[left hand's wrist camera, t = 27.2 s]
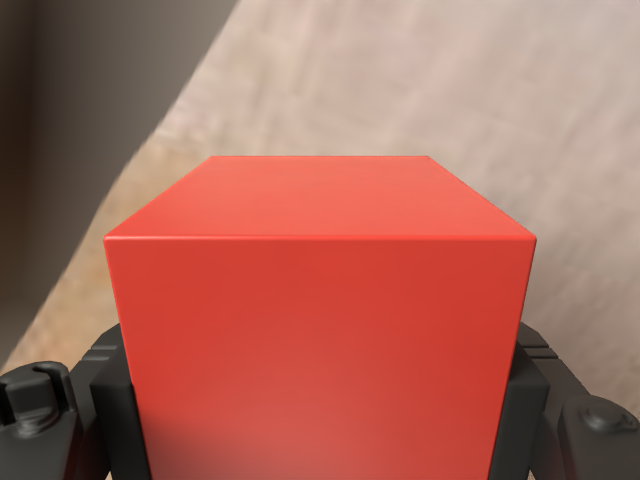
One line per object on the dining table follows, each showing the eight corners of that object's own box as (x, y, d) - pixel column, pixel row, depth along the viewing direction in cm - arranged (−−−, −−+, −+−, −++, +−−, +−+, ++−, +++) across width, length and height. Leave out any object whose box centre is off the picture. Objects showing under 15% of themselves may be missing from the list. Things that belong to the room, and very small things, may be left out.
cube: (409, 366, 16) (471, 569, 10) (230, 366, 16) (168, 569, 10) (429, 155, 13) (540, 236, 7) (210, 155, 13) (99, 236, 7)
